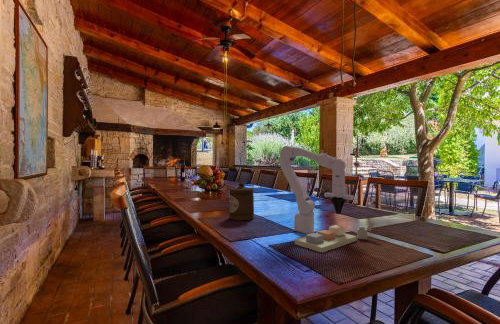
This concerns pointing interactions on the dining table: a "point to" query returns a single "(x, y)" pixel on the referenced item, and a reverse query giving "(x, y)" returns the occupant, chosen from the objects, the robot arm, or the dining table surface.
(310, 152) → the robot arm
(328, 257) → the dining table surface
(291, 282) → the dining table surface
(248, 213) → the wooden container
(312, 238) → the key slate
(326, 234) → the key terracotta
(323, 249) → the panel
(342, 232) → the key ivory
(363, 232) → the lighter
